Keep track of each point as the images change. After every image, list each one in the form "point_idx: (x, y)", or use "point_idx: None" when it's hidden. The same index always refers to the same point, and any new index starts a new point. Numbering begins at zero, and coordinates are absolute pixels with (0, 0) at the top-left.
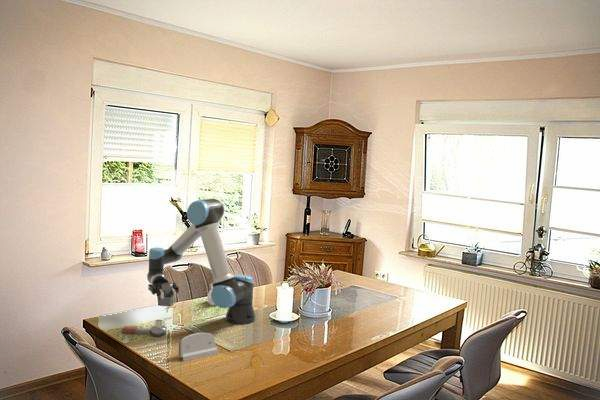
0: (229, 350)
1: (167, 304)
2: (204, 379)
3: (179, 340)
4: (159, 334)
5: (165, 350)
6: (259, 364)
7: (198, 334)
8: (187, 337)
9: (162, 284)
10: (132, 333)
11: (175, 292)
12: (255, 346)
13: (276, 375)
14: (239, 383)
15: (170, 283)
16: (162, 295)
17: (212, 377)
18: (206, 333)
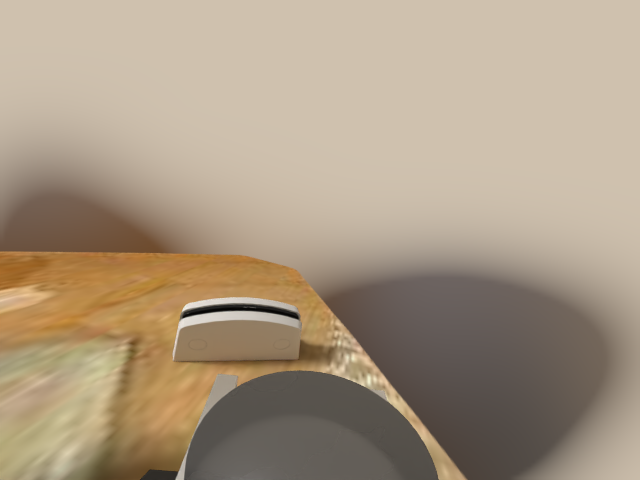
0: (133, 341)
1: None
2: (280, 286)
3: (299, 324)
4: None
5: None
6: (144, 282)
7: (241, 299)
8: (280, 302)
9: (416, 450)
10: None
11: (226, 378)
12: (30, 334)
13: (158, 260)
14: (233, 267)
15: (223, 474)
16: None
17: (263, 285)
18: (211, 299)
